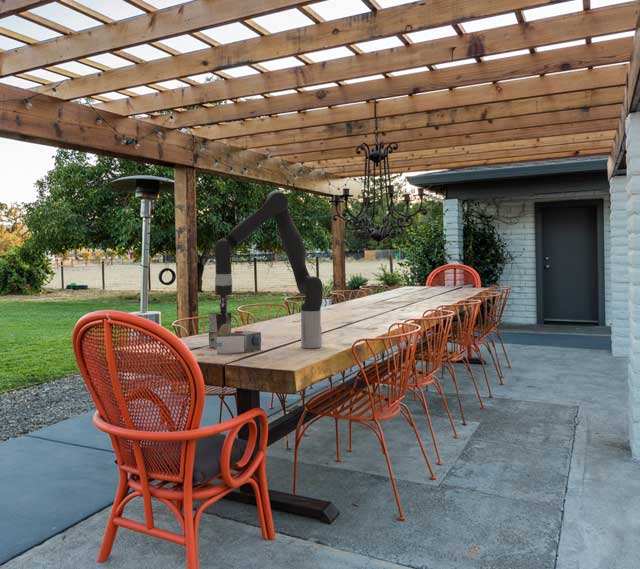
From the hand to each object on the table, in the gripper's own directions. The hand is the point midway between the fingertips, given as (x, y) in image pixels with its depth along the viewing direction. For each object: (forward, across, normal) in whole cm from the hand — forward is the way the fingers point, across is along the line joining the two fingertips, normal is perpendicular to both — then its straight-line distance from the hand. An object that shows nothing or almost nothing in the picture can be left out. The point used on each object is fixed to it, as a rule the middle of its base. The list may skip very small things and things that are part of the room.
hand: (223, 323), depth 250 cm
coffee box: (+13, -16, -3) cm, 21 cm away
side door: (+13, +3, +3) cm, 14 cm away
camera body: (+13, -5, +9) cm, 17 cm away
